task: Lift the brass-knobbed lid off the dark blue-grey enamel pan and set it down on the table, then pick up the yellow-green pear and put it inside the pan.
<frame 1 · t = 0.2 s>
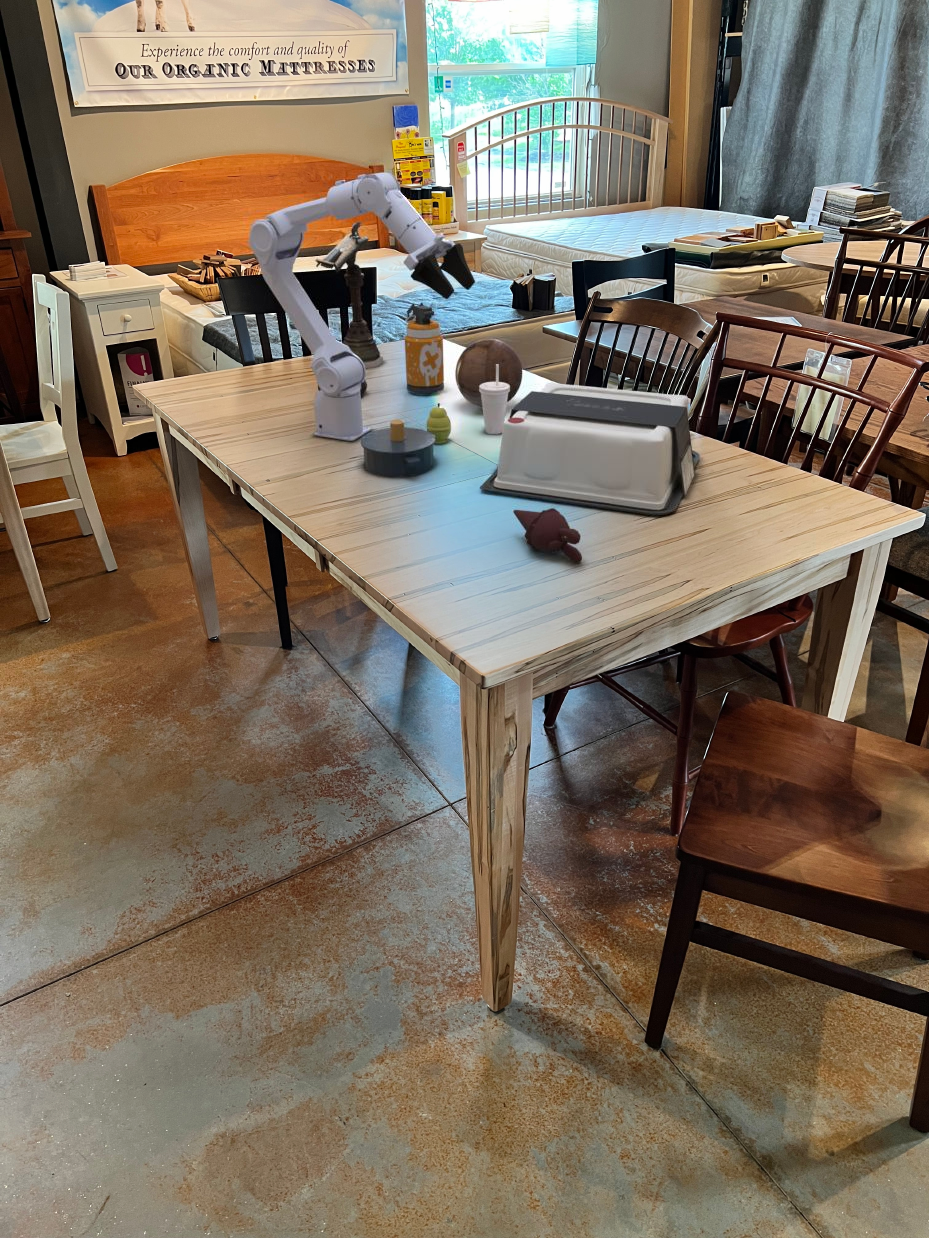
hand: (461, 290, 156), 31 cm above the table, tool tilted 45°, fingers open, 7 cm apart
smoothie: (494, 432, 183), on the table
lid: (398, 441, 165), point 4 cm above the table, touching pan
pear: (439, 440, 179), on the table
wooden sphere: (488, 407, 198), on the table
canister: (423, 390, 210), on the table
donut: (343, 395, 208), on the table
icecream: (545, 550, 135), on the table
dark brown tall piece: (353, 365, 231), on the table
pan: (399, 464, 167), on the table
cake box: (595, 473, 162), on the table
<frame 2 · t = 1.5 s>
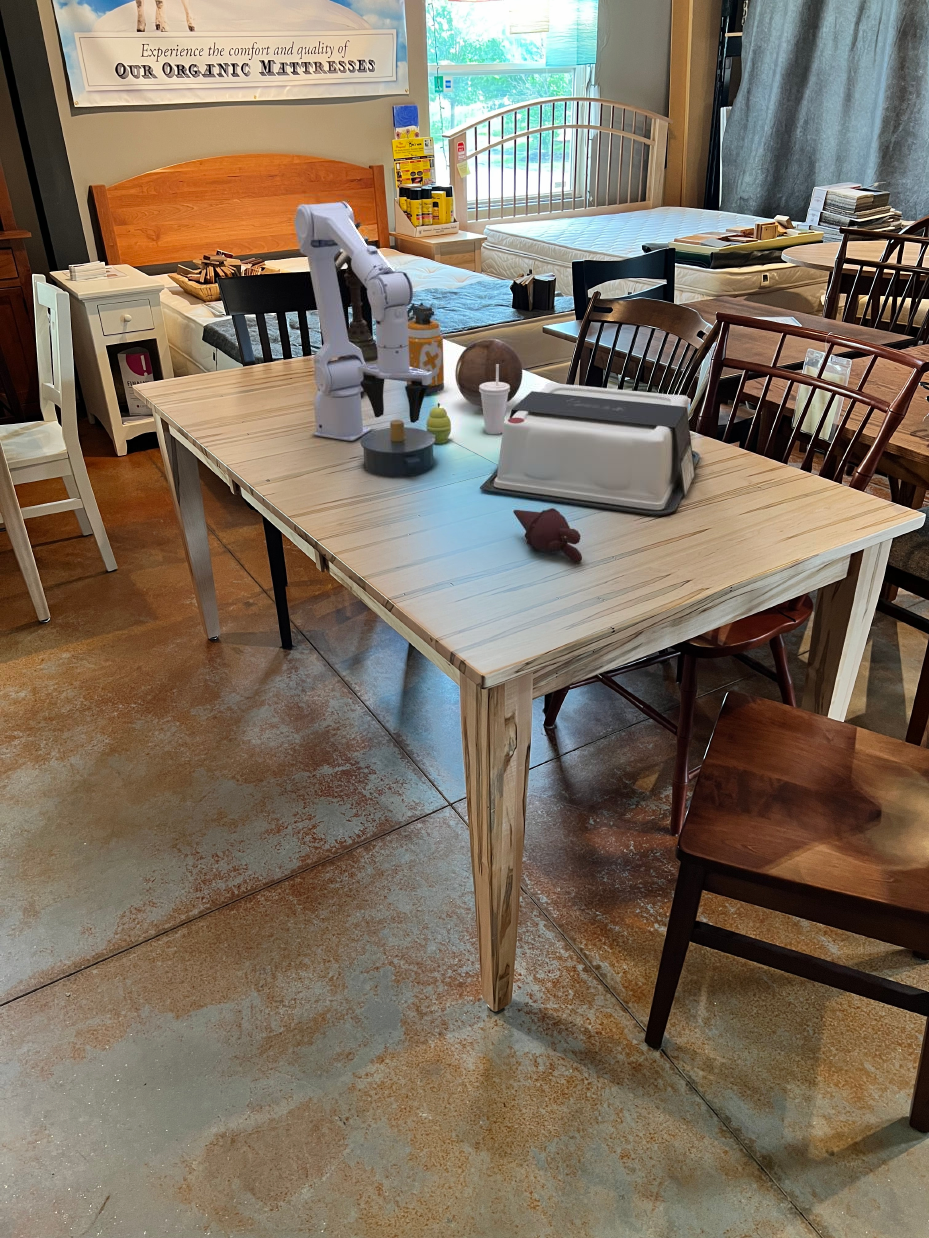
hand: (396, 418, 163), 9 cm above the table, tool pointing down, fingers open, 7 cm apart
nothing on the table moved.
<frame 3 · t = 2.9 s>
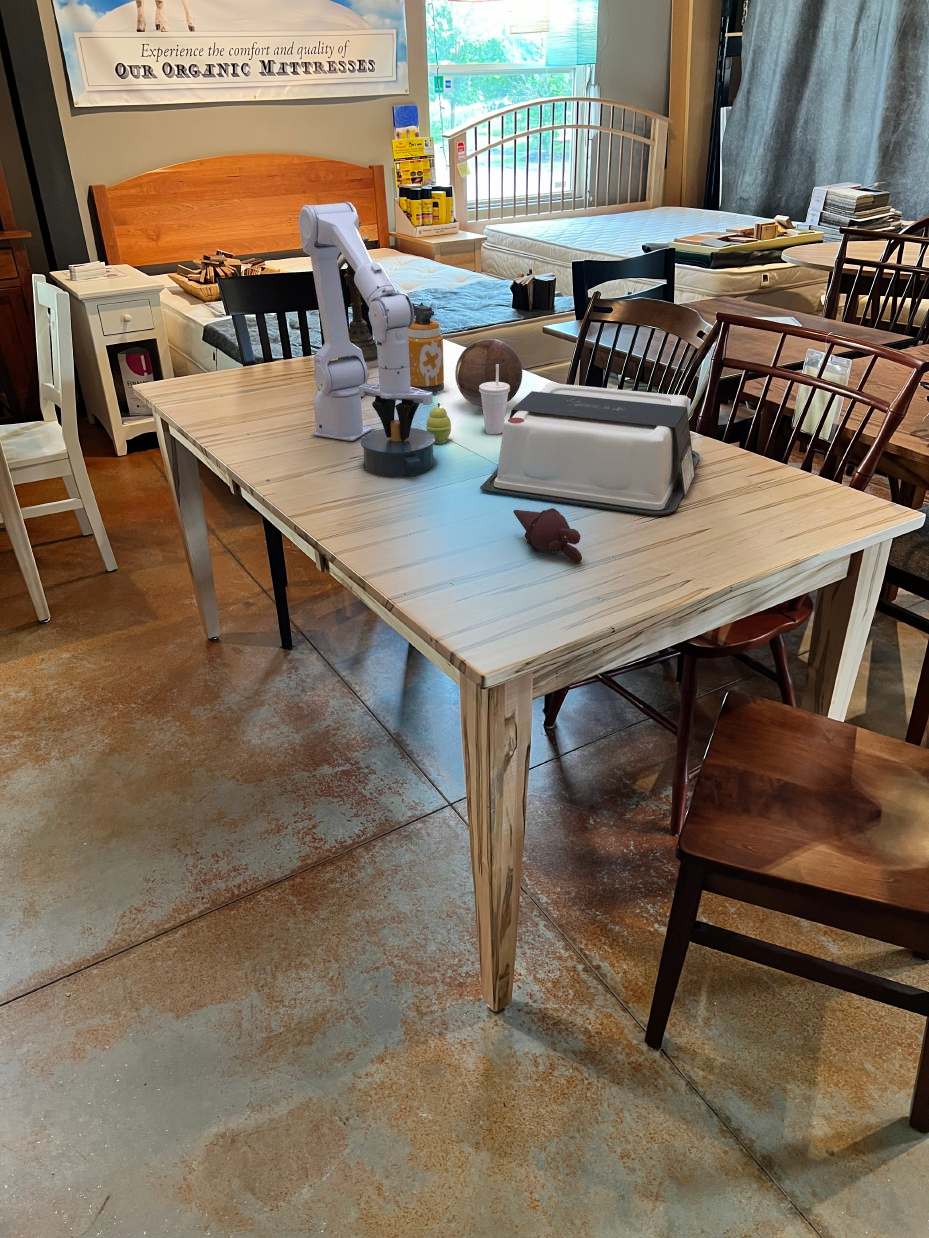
hand: (397, 437, 165), 5 cm above the table, tool pointing down, fingers closed on lid, 2 cm apart
lid: (398, 441, 165), point 4 cm above the table, touching gripper, pan
everything else where it was.
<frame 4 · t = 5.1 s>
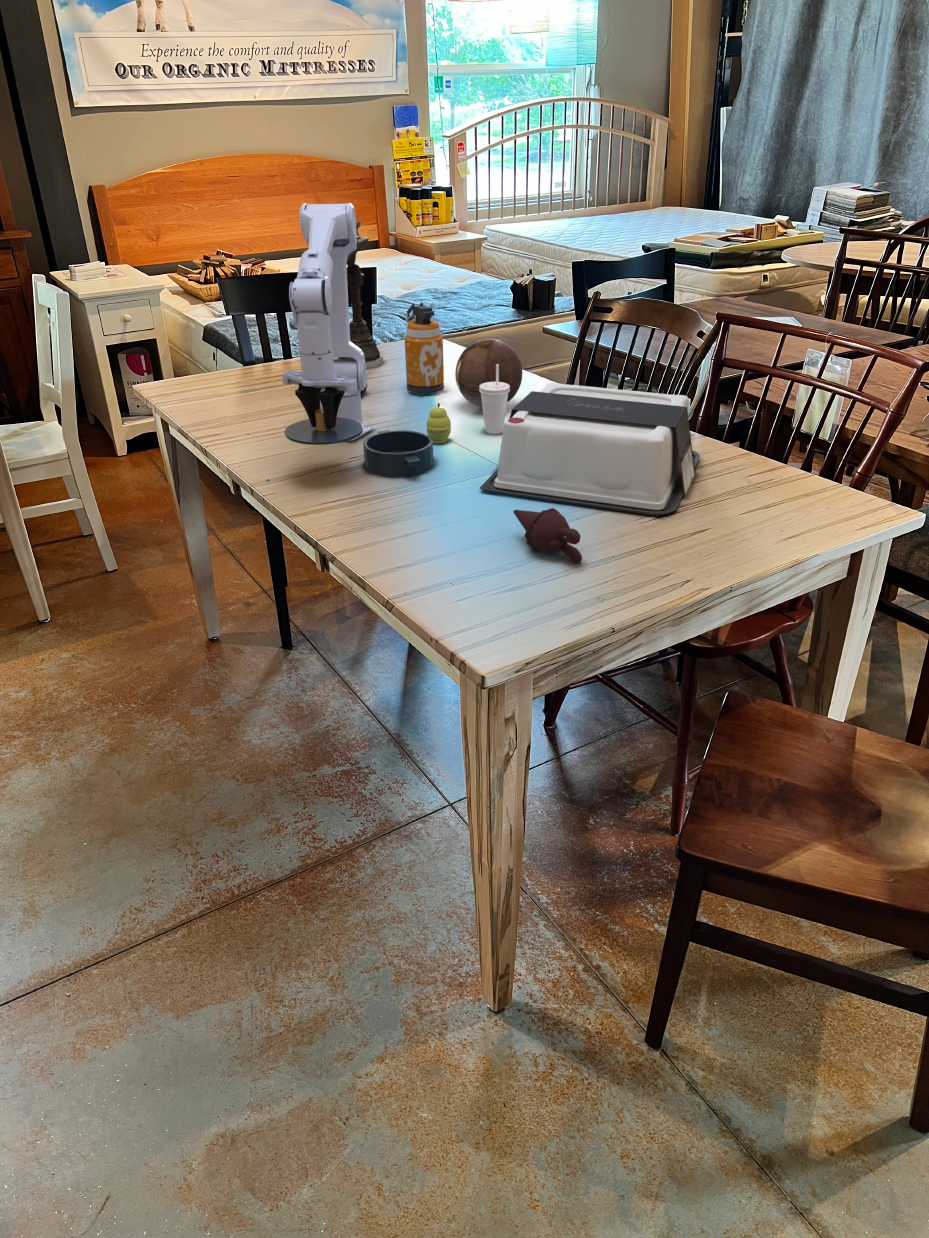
hand: (323, 427, 158), 9 cm above the table, tool pointing down, fingers closed on lid, 2 cm apart
lid: (324, 431, 159), point 8 cm above the table, touching gripper
everything else where it was.
when the fingers open (1 cm above the table, at t = 7.4 s): lid stays where it is, point 1 cm above the table.
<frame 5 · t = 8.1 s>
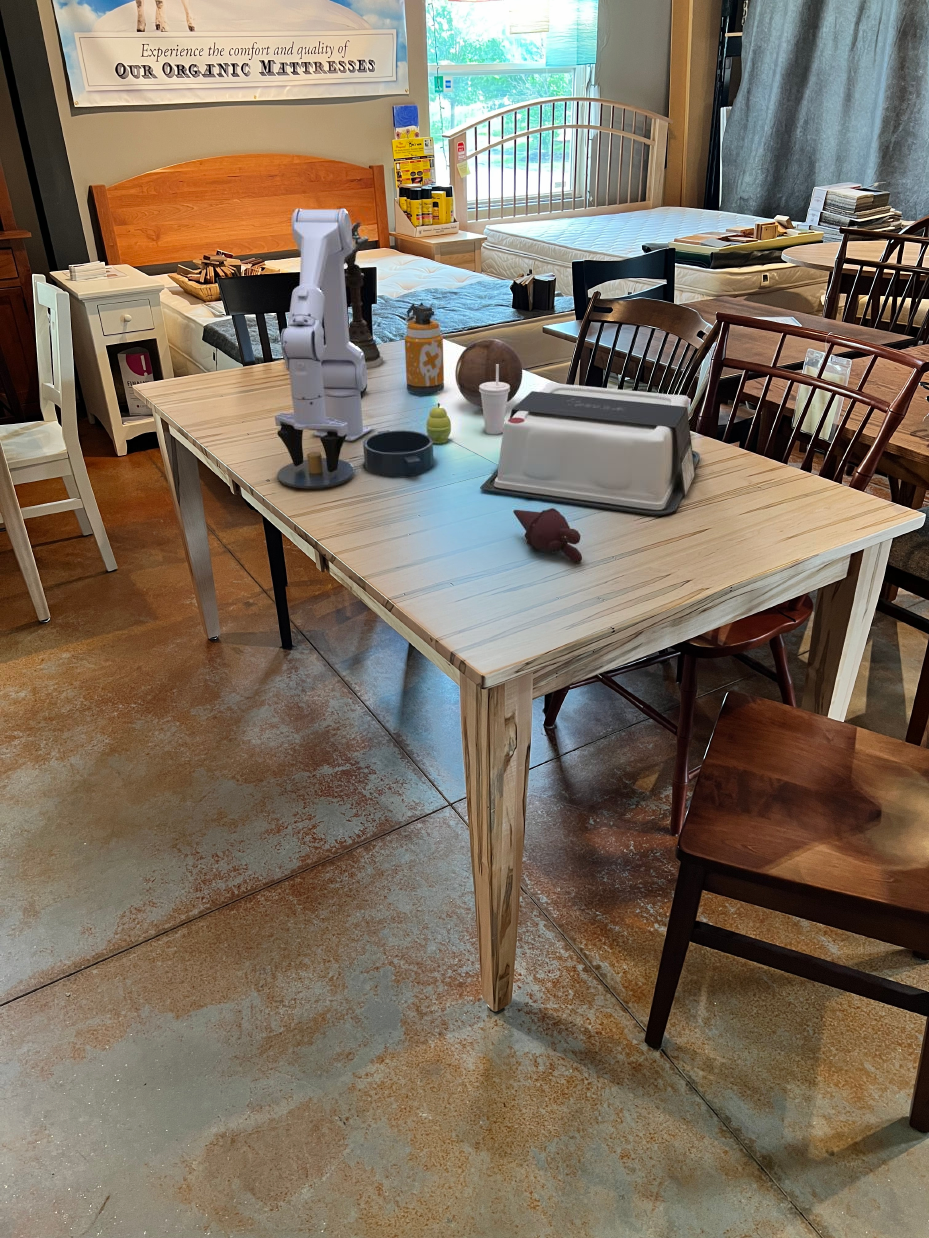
hand: (315, 467, 161), 2 cm above the table, tool pointing down, fingers open, 7 cm apart
lid: (316, 473, 162), point 1 cm above the table
everything else where it was.
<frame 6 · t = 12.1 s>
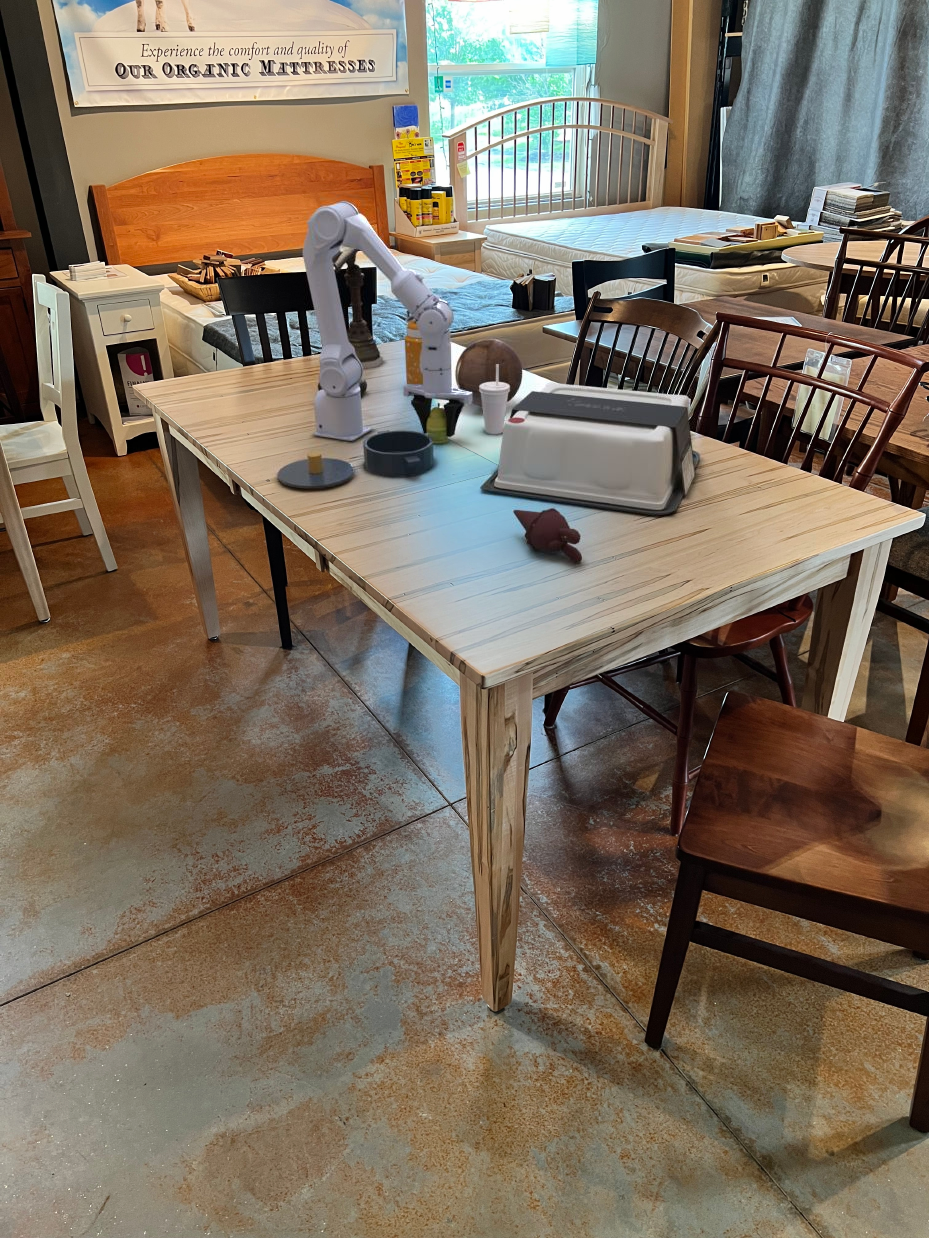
hand: (438, 433, 178), 2 cm above the table, tool pointing down, fingers closed on pear, 5 cm apart
pear: (439, 440, 179), on the table, touching gripper
everything else where it was.
when the fingers open (2 cm above the table, at t = 17.4 s): pear stays where it is, resting on pan.
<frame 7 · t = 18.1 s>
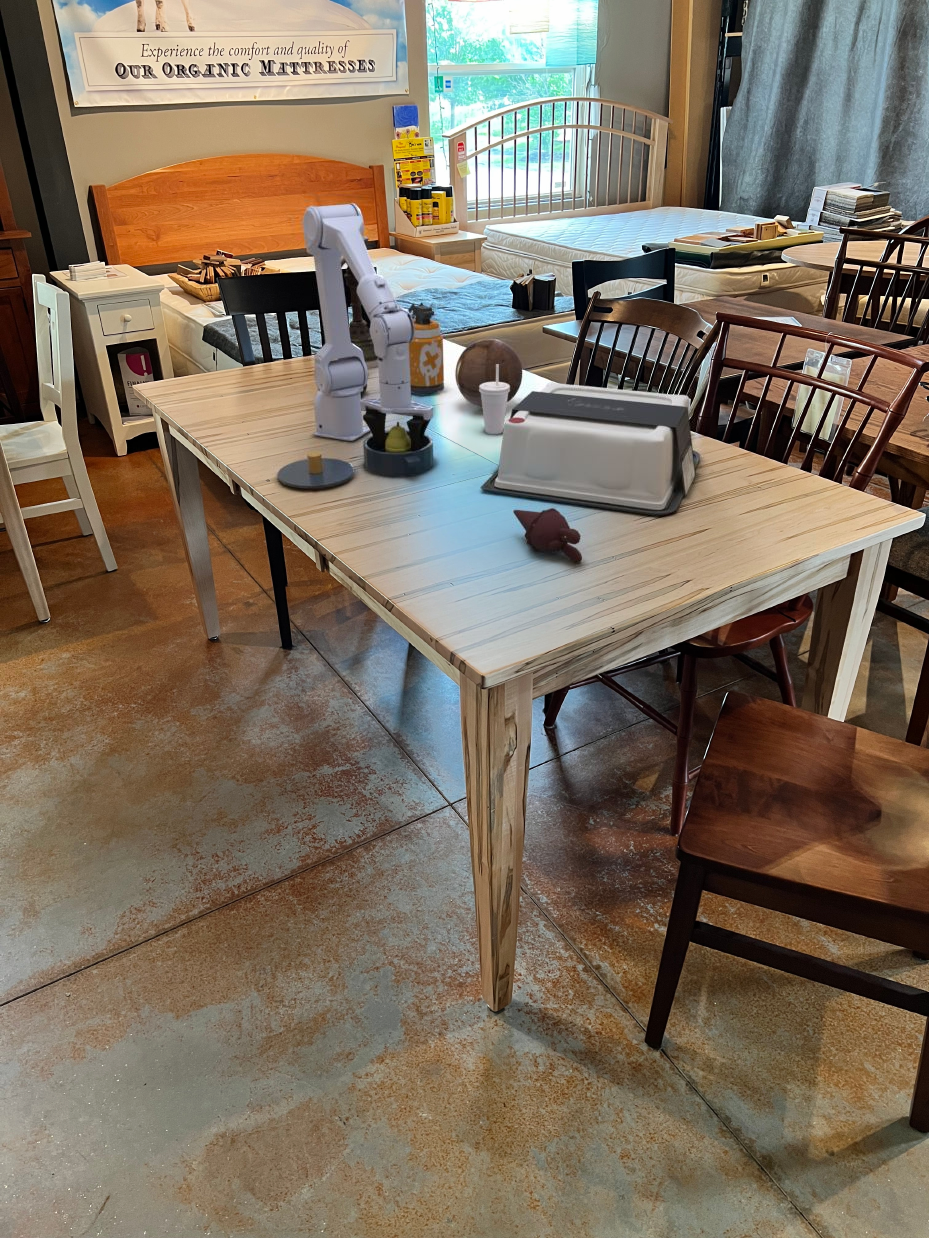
hand: (398, 451, 166), 3 cm above the table, tool pointing down, fingers open, 7 cm apart
pear: (399, 461, 167), resting on pan
everything else where it was.
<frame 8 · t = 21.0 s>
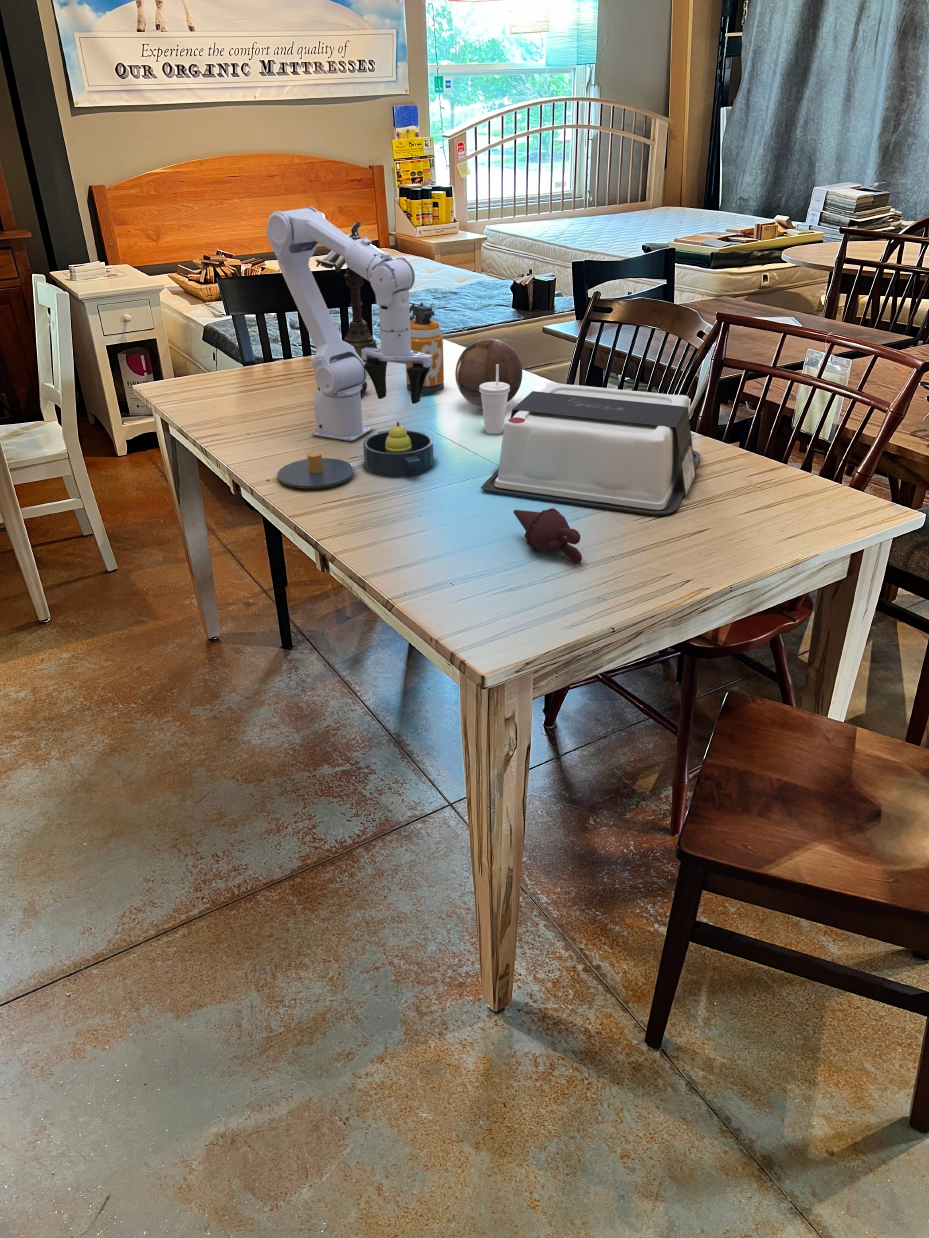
hand: (398, 400, 170), 10 cm above the table, tool pointing down, fingers open, 7 cm apart
nothing on the table moved.
at the end: lid inside the target area (0.0 cm from its centre), point 0.6 cm above the table; pear inside the target area in the pan (0.1 cm from its centre), point 0.5 cm above the pan's base; the gripper is holding nothing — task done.
